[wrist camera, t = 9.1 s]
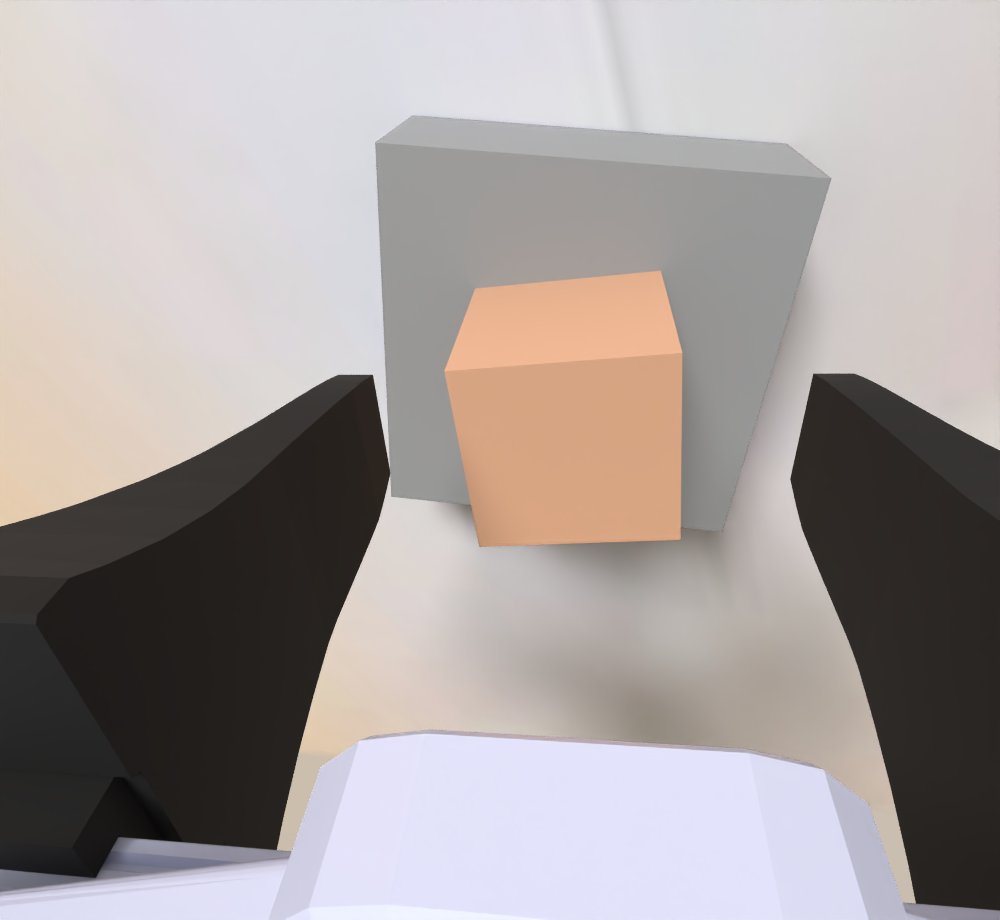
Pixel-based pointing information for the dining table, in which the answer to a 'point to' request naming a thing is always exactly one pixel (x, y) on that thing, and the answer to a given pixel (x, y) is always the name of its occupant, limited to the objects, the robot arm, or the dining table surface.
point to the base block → (590, 269)
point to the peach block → (570, 411)
